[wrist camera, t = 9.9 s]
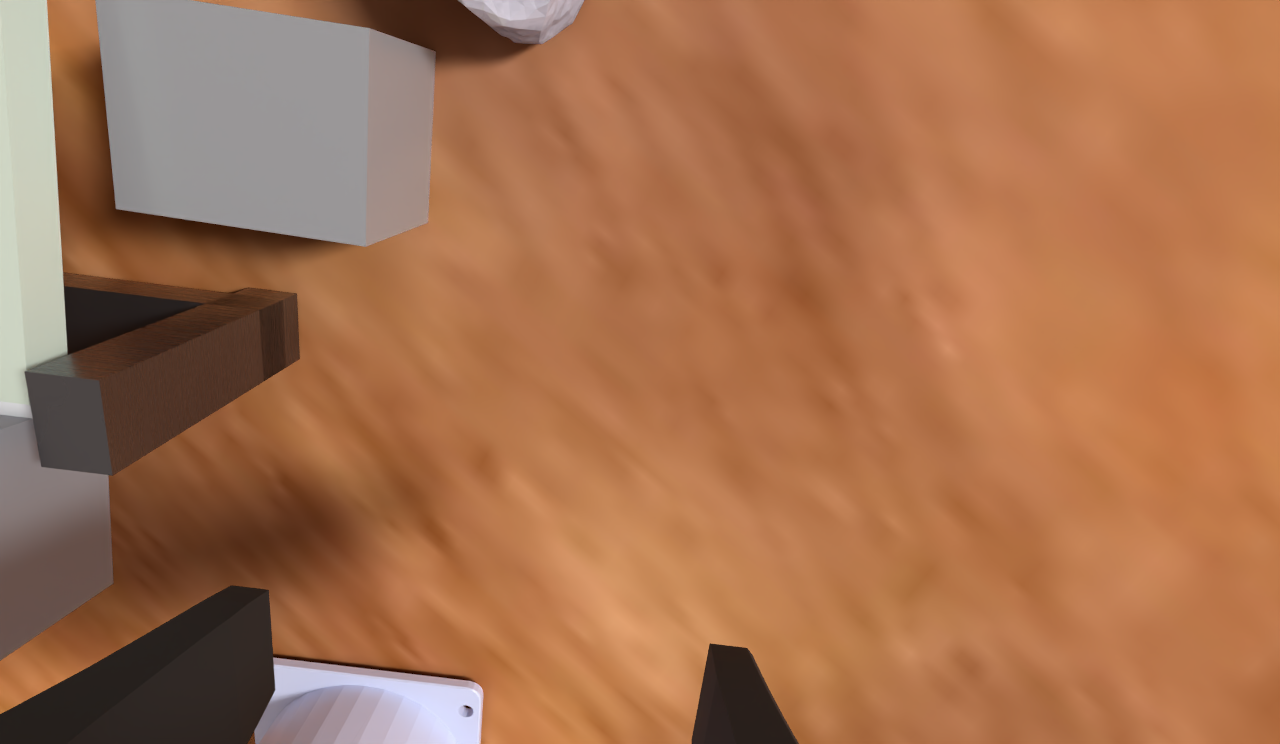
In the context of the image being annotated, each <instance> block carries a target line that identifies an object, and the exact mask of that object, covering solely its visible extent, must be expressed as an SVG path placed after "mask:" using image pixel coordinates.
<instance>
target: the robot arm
mask: <svg viewBox="0 0 1280 744" xmlns="http://www.w3.org/2000/svg"><path fill="white" fill-rule="evenodd" d="M463 705H467V706H470V707H471V708H466V707H464V706H463ZM482 709H483V689H482V688H481V687H480V685H478V684H477V683H475V682H472V681H466V680H458V679H449V678H441V677H433V676H424V675H416V674H407V673H399V672H391V671H382V670H374V669H365V668H357V667H349V666H340V665H332V664H323V663H315V662H306V661H298V660H290V659H281V658H273V647H272V632H271V617H270V603H269V590H264V589H256V588H248V587H240V586H230V587H228V588H226V589H224V590H222V591H220V592H218V593H216V594H215V595H213V596H211V597H209V598H207V599H206V600H204V601H202V602H200V603H199V604H197V605H195V606H193V607H192V608H190V609H188V610H187V611H185V612H183V613H181V614H180V615H178V616H176V617H175V618H173V619H171V620H170V621H168V622H166V623H164V624H163V625H161V626H159V627H158V628H156V629H154V630H152V631H151V632H149V633H147V634H146V635H144V636H142V637H140V638H139V639H137V640H135V641H133V642H132V643H130V644H128V645H126V646H125V647H123V648H121V649H120V650H118V651H116V652H114V653H113V654H111V655H109V656H107V657H106V658H104V659H102V660H100V661H99V662H97V663H95V664H93V665H92V666H90V667H88V668H86V669H84V670H83V671H81V672H79V673H77V674H75V675H73V676H71V677H69V678H68V679H66V680H64V681H62V682H60V683H58V684H56V685H55V686H53V687H51V688H49V689H47V690H45V691H43V692H41V693H40V694H38V695H36V696H34V697H32V698H30V699H28V700H27V701H25V702H23V703H21V704H19V705H17V706H15V707H13V708H12V709H10V710H8V711H6V712H4V713H2V714H0V744H247V743H248V742H249V740H250V738H251V736H252V734H253V732H254V734H255V744H481V726H482ZM692 744H799V743H798V742H797V740H796V738H795V736H794V735H793V733H792V731H791V729H790V728H789V726H788V724H787V722H786V721H785V719H784V717H783V715H782V713H781V711H780V709H779V708H778V706H777V704H776V702H775V700H774V698H773V696H772V694H771V692H770V690H769V688H768V686H767V684H766V682H765V680H764V678H763V676H762V674H761V672H760V670H759V668H758V666H757V664H756V662H755V660H754V657H753V655H752V654H751V653H750V651H749V650H748V649H747V648H742V647H734V646H725V645H717V644H710V645H709V650H708V656H707V661H706V667H705V672H704V677H703V683H702V688H701V693H700V699H699V704H698V709H697V715H696V720H695V725H694V731H693V736H692Z"/></svg>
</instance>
